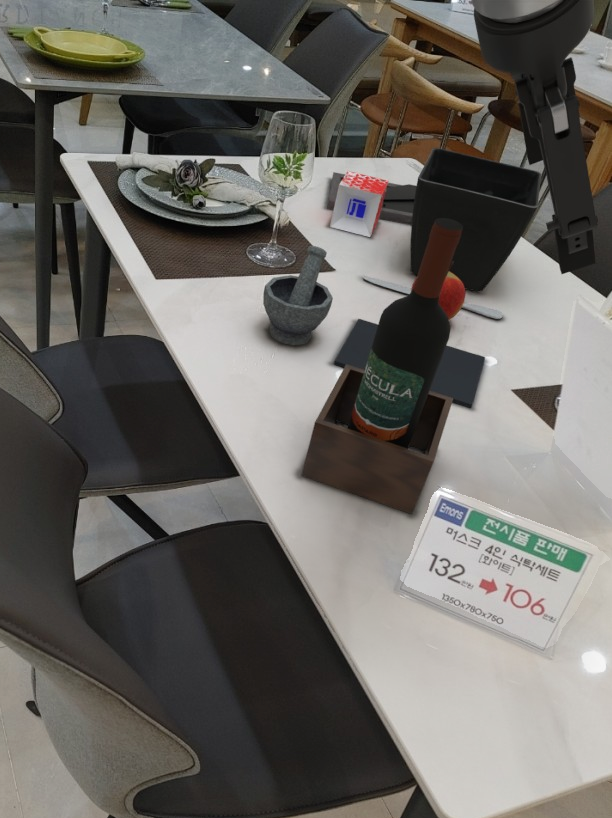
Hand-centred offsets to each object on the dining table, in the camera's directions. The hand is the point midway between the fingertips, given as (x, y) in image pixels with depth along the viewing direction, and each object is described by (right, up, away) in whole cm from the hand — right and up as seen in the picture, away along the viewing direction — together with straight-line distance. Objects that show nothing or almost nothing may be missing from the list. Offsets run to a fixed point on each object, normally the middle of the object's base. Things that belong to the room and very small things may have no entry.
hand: (559, 209), depth 69 cm
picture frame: (+1, +36, +87) cm, 94 cm away
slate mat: (-3, -5, +44) cm, 44 cm away
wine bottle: (-12, -21, +26) cm, 35 cm away
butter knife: (+4, +9, +59) cm, 60 cm away
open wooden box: (-12, -21, +26) cm, 35 cm away
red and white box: (-6, +28, +78) cm, 83 cm away
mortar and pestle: (-20, 0, +46) cm, 50 cm away
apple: (+2, +3, +54) cm, 54 cm away
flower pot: (+10, +16, +68) cm, 71 cm away
